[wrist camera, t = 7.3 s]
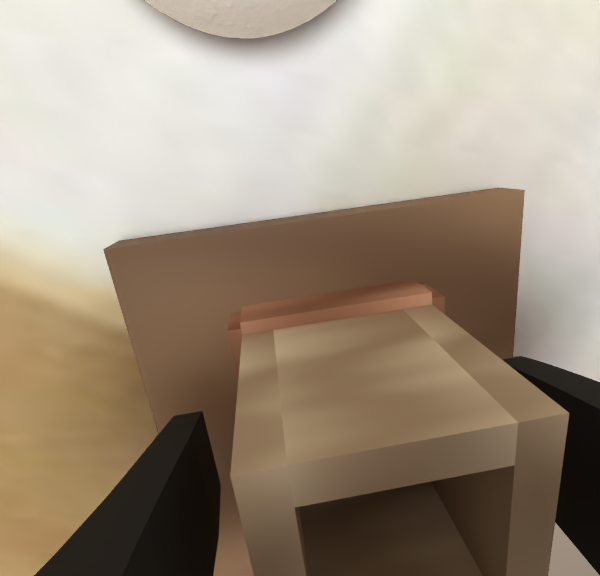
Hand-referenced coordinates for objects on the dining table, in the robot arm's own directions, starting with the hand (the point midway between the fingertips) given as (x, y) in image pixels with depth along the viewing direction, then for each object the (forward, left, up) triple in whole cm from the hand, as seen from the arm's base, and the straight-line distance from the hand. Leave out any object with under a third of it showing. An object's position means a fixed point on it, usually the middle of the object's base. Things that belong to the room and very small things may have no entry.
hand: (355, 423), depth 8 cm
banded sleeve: (0, 0, -2) cm, 2 cm away
